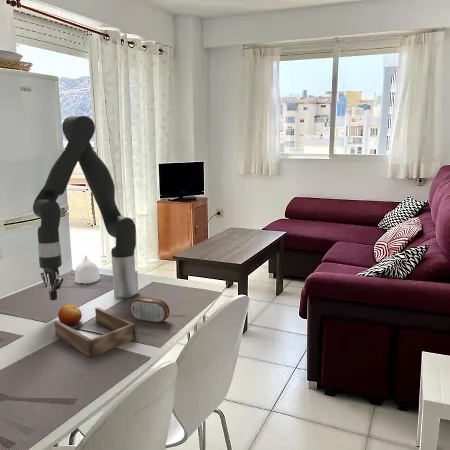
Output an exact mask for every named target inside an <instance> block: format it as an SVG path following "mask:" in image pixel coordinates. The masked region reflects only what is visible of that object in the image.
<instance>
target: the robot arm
mask: <svg viewBox="0 0 450 450" xmlns="http://www.w3.org/2000/svg"><path fill="white" fill-rule="evenodd" d="M61 127H62V128H61V129H62V132H63V135H64V137H65V139H66V141H67V144H66V145H65V147H64V150H63V151H62V153H61V154H60V155H59V157H58V158H57V159H56V161H55V162H54V164H53V165H52V167H51V169H50V171H49V173H48V176H47V178H46V181H45V184H44V186H43V187H42V188H41V189H40V191H39V192H38V194H37V196H36V197H35V199H34V202H33V205H32V210H33V213H34V214H35V216H37V217H38V218H40V226H38V228H37V241H38V242H37V243H38V245H37V247H38V248H37V251H38V261H39V262H38V263H39V268H40V269H42V270H43V272H40V276H41V278H42V282H43V284H44V286H45V288H47V291H48V295H49V300H50V301H51V302H52V301H57V300H58V291H57V290H60V289H61V287H62V284H63V282H64V278H63V277H60V270H59V268H60V267H61V266H62V264H63V261H62V249H61V248H62V246H61V241H60V233H59V232H60V231H59V227H60V222H61V207H60V204H59V203H58V202H57V200H58V198H59V197H60V196H62V195H64V193H65V191H66V189H67V187H68V185H69V182H70V180H71V177H72V174H73V173H74V170H75V168H76V165H78V163H79V166H80V168H81V171H82V172H83V173H82V174H83V175H84V178H85V180H86V182H87V185H88V187H89V190H90V191H91V194H92V196H93V198H94V201H95V202H96V204H97V207H98V209H99V211H100V214H101V218H102V221H103V224H104V228H105V230H106V232H107V234H108V235H109V236H111V237H113V238H114V239H115V246H113V247H112V248H111V250H110V251H111V252H110V253H111V254H110V255H111V267H112V286H113V295H114V297H115V298H119V299H127V298H131V297H134V296H137V294H139V276H138V271H137V270H136V261H135V260H136V258H135V250H136V248H137V247H136V246H137V231H136V230H137V229H136V223H135V221H134V219H132V218H130V217H128V216H123V215H122V214H121V213H120V210H119V209H118V206H117V203H116V200H115V198H116V197H115V194H116V189H115V187H116V186H115V183H114V180H113V178H112V174H111V173H110V170H109V169H108V167H107V165H106V164H105V163H104V161H103V160H102V159H101V158H100V156H99V155H98V154H97V152H96V151H95V150H94V148H93V146H92V144H91V140H92V139H93V136H94V134H95V131H96V127H95V122H94V121H93V119H92V118H91V117H90V116H88V115H84V114H79V115H69V116H67V117H66V118H65V119H63V122H62V125H61Z"/></svg>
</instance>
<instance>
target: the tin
mask: <svg viewBox="0 0 450 450" xmlns="http://www.w3.org/2000/svg"><path fill="white" fill-rule="evenodd" d="M170 311H171V310H170V307H169V305H168V304H167V303H166V302H165V301H164V300H162V299H160V298H153V297H152V298H151V297H145V296H136V297H135V298H134V299H133V300H132V301H131V302H130V303H129V312H130V314H131V316H132V317H133V318H134V319H135V320H137V321H143V322H150V323H155V324H160V323H163V322H164V321H166V320H167V319H168V318H169V316H170V314H171V313H170Z"/></svg>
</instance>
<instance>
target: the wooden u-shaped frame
mask: <svg viewBox="0 0 450 450" xmlns="http://www.w3.org/2000/svg"><path fill="white" fill-rule="evenodd" d="M94 310H95V311H94V312H95V322H96V323H99V324H100V325H102V326H104V327H107V328H108V329H111V330H112V331H110V332H107V333H104V334H101V335H99V336H97V337H93V338H90V337H88V336H86V335H84V334H82V333H81V332H79V331H77V330H76V329H73V328H72V327H71V326H66V325H65V324H63V323H61V322H60V320H56V321H54V334H55V337H56V338H58V339H60V340H62V341H64V343H66V344H68V345H70V346H72V347H73V348H75V349H77V350H78V351H79V352H81V353H83V354H84V355H86V356H88V357H90V358H92V357H96V356H98V355H101V354H103V353H105V352H107V351H108V352H109V351H110V350H112V349H115V348H116V347H120V346H122V345H124V344H126V343H129V342H131V341H134V340H136V339H137V334H136V333H137V331H136V324H135V323H133V322H131V321H129V320H127V319H125V318H123V317H121V316H118V315H116V314H114V313H111V312H109V311H107V310H105V309H102V308H100V307H95V309H94Z"/></svg>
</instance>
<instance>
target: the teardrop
mask: <svg viewBox="0 0 450 450" xmlns="http://www.w3.org/2000/svg"><path fill="white" fill-rule="evenodd" d="M100 276H101V275H100V269H99V267H98V265H97V264H96V263H95V262H94V261H93V260H91V259H90V258H89V257H87V255H84V257H83V259H82V260H80V262H78V264H77V265H76V267H75V269H74V280H75V283H77V284H80V283H84V284H83V285H85V284H87V283H88V284H92V283H97V282H98V281H100V280H99V279H101V277H100Z"/></svg>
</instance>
